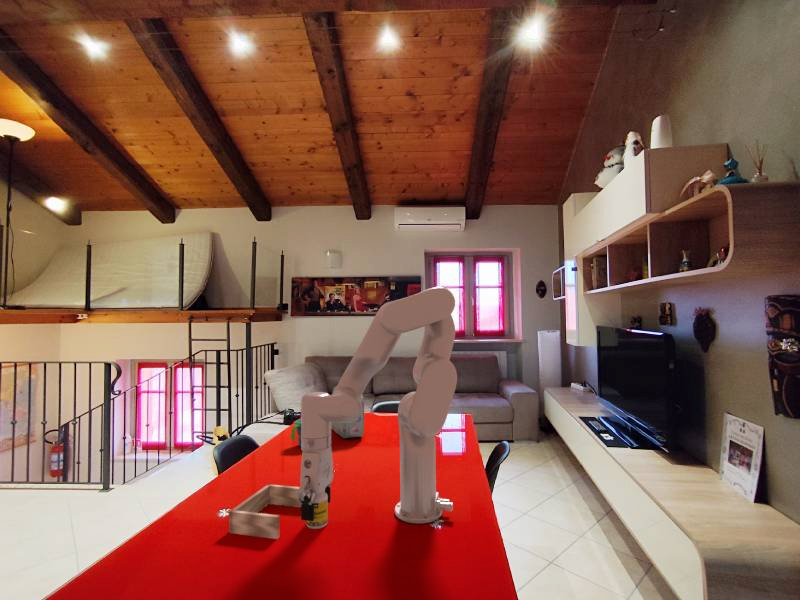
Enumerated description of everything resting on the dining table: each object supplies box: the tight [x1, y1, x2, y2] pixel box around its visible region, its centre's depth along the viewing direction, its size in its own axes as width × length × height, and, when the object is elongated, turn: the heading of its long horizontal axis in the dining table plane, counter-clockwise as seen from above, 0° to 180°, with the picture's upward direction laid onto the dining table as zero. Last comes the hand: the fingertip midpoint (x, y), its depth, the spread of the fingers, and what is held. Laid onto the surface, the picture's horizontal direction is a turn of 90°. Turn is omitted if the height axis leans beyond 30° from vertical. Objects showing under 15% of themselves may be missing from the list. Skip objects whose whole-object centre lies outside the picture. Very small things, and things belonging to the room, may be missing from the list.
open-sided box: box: [228, 483, 309, 540], centre depth 105 cm, size 13×17×5 cm
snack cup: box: [290, 418, 301, 447], centre depth 167 cm, size 16×10×10 cm
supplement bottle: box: [305, 488, 329, 530], centre depth 102 cm, size 5×5×10 cm
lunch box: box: [331, 386, 365, 439], centre depth 185 cm, size 27×10×21 cm, turn 25°
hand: (316, 510), depth 102 cm, fingers open, 9 cm apart
